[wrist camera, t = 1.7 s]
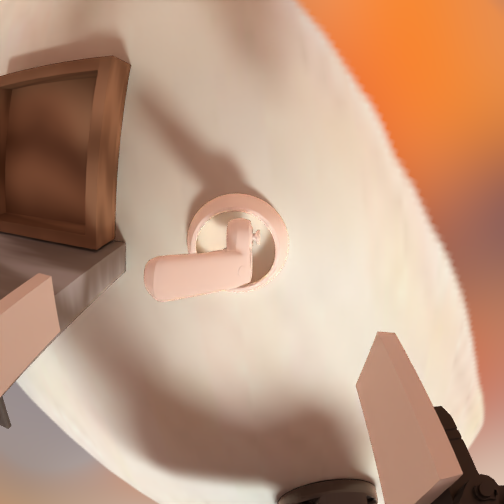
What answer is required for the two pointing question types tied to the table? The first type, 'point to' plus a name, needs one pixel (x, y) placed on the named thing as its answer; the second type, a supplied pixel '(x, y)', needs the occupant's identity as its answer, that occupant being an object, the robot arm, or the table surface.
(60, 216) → the open wooden box
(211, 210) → the pink door lever handle
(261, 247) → the table surface
